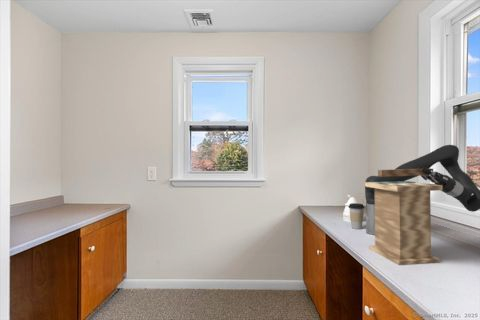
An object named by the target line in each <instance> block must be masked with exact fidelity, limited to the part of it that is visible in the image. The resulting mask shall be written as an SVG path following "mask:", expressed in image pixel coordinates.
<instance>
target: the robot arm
mask: <svg viewBox="0 0 480 320" xmlns="http://www.w3.org/2000/svg"><path fill="white" fill-rule="evenodd" d="M459 155H460V148H459V147H458V146H456V145H455V144H454V145H453V144H447V145H443V146H440V147H438V148H436V149H435V150H433V151H431V152H429V153H427V154H424V155H422V156H419V157H417V158H415V159H413V160H410V161H407V162H405V163H404V162H403V164H401V165H399V166H398V167H395V169H422V172H424V173H425V174H427V175H419V177H422V179H423V180H425V181H430V182H431V183H432V184H436V185H442V190H440V192H442V193H444V194H445V195H448V196H450V197H452V198H454V199H455V200H457V201H458V202H460V203H461V205H462V206H463V207H464V208H465V209H466V210H467V211H469V212H473V213H475V212H477V211H479V210H480V189H479V188H478V186H477V185H476V183H475V182H474V180H473V179H472V178H471V176H470V175H469V174H468V173H466V172H465V171H464V170H462V168H461V166H460V165H459V161H458V160H459ZM437 163H440V165H441V166H442V167H443V168H444V169H445V170H446V172H447V173H448V174H449V175H447V174H443V173H440V172H438V171H434V170H433V171H430V170H429V169H431V167H433V166H434V165H436V164H437ZM417 177H418V176H388V177H380V176H378V175H370V176H368V177H367V178H366V179H365V181H364V183H365V182H398V181H409V180H411V179H414V178H417ZM364 194H365V196H364V197H365V200H366V201H365V202H366V216H365V234H369V235H372V236H373V235H374V236H375V190H374V188H372V187H366V186H365V185H364Z"/></svg>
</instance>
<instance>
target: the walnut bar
mask: <svg viewBox="0 0 480 320" xmlns="http://www.w3.org/2000/svg"><path fill="white" fill-rule="evenodd" d="M429 170H430V171H434V168H429ZM420 175H427V174H425V173H424V172H422V169H396V168H394V169H377V176H380V177H388V176H417V177H420Z"/></svg>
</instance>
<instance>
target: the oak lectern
mask: <svg viewBox="0 0 480 320" xmlns="http://www.w3.org/2000/svg"><path fill="white" fill-rule="evenodd" d="M365 186H366V187H372V188H374V190H375V235H374V245H368V250H371V252H374V253H376V254H378V255H379V256H382V257H383V258H385V259H387V260H389V261H391V262H392V263H394V264H397V265H398V266H403V265H420V264H421V265H422V264H436V263H437V264H438V263H440V258H438V257H435V256H434V255H432V230H431V229H432V226H431V221H432V217H431V215H432V214H431V210H432V209H431V191H435V192H436V191H441V190H442V185H436V184H435V183H428V182H425V183H424V182H422V183H421V182H416V181H412V180H411V181H409V180H406V181H398V182H365V181H364V187H365Z"/></svg>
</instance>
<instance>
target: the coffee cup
mask: <svg viewBox="0 0 480 320" xmlns="http://www.w3.org/2000/svg"><path fill="white" fill-rule="evenodd" d="M349 209H350V220H351V223H350V224H351V228H352V229H353V230H362V229H363V222H364V209H365V205H364V204H362V203H359V202H358V203H351V204H350V205H349ZM362 221H363V222H362Z"/></svg>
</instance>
